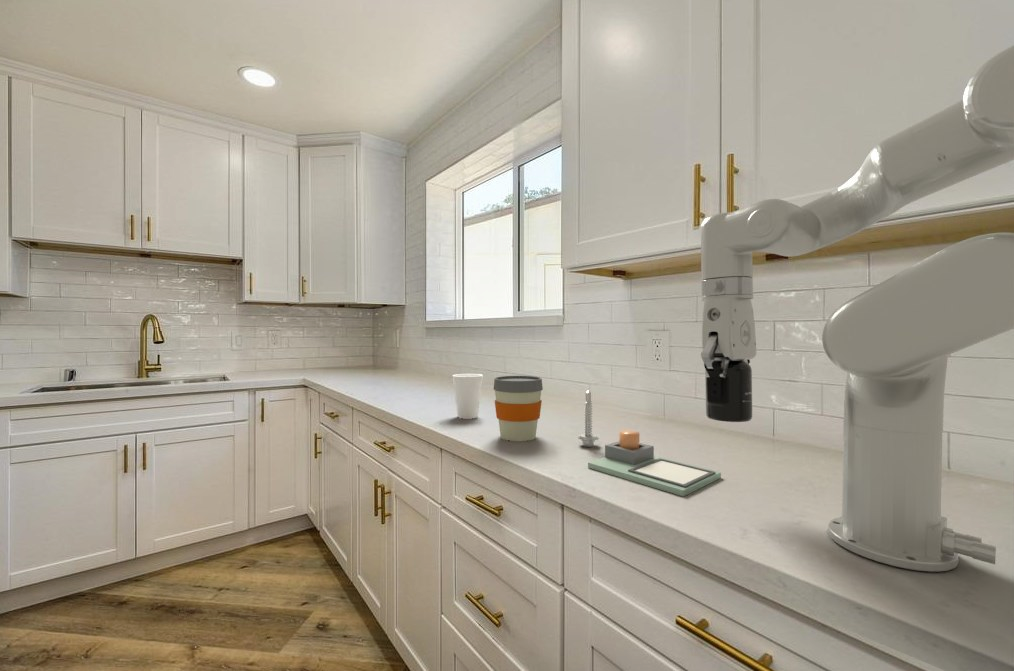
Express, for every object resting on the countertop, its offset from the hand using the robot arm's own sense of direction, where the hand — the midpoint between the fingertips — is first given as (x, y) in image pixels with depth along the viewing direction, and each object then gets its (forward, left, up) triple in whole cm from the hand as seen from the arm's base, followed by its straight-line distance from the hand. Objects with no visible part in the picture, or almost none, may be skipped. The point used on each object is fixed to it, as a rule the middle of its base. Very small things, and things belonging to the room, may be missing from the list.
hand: (728, 399), depth 73 cm
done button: (+22, -4, -14) cm, 26 cm away
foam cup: (+82, -6, -17) cm, 83 cm away
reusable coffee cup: (+53, -1, -17) cm, 55 cm away
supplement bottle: (0, 0, -3) cm, 3 cm away
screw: (+36, -8, -17) cm, 40 cm away
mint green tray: (+15, -2, -16) cm, 22 cm away
